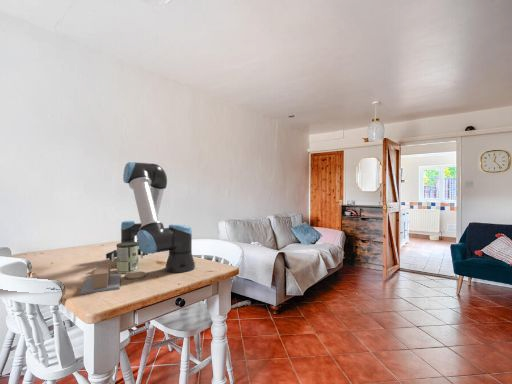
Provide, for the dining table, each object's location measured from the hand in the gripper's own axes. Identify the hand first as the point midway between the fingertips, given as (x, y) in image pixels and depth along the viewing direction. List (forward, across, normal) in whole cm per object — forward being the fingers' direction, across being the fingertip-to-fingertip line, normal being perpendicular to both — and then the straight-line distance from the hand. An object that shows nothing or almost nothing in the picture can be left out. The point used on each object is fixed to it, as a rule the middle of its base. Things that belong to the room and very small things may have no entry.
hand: (127, 257), depth 137 cm
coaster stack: (+11, -4, -8) cm, 14 cm away
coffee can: (-3, 0, -8) cm, 8 cm away
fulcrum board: (+16, +10, -7) cm, 20 cm away
